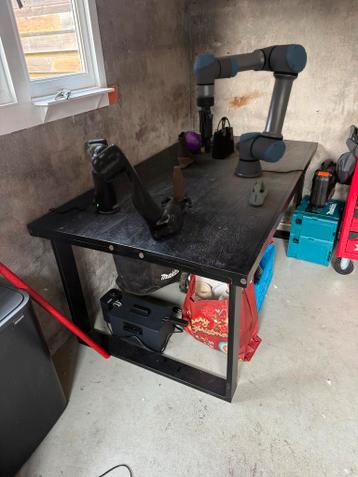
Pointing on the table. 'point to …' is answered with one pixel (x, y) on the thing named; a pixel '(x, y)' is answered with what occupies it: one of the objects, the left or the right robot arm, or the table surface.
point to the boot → (184, 151)
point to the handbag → (223, 140)
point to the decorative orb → (193, 141)
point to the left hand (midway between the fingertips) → (179, 195)
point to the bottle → (178, 184)
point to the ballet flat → (258, 193)
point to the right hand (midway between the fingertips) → (205, 151)
